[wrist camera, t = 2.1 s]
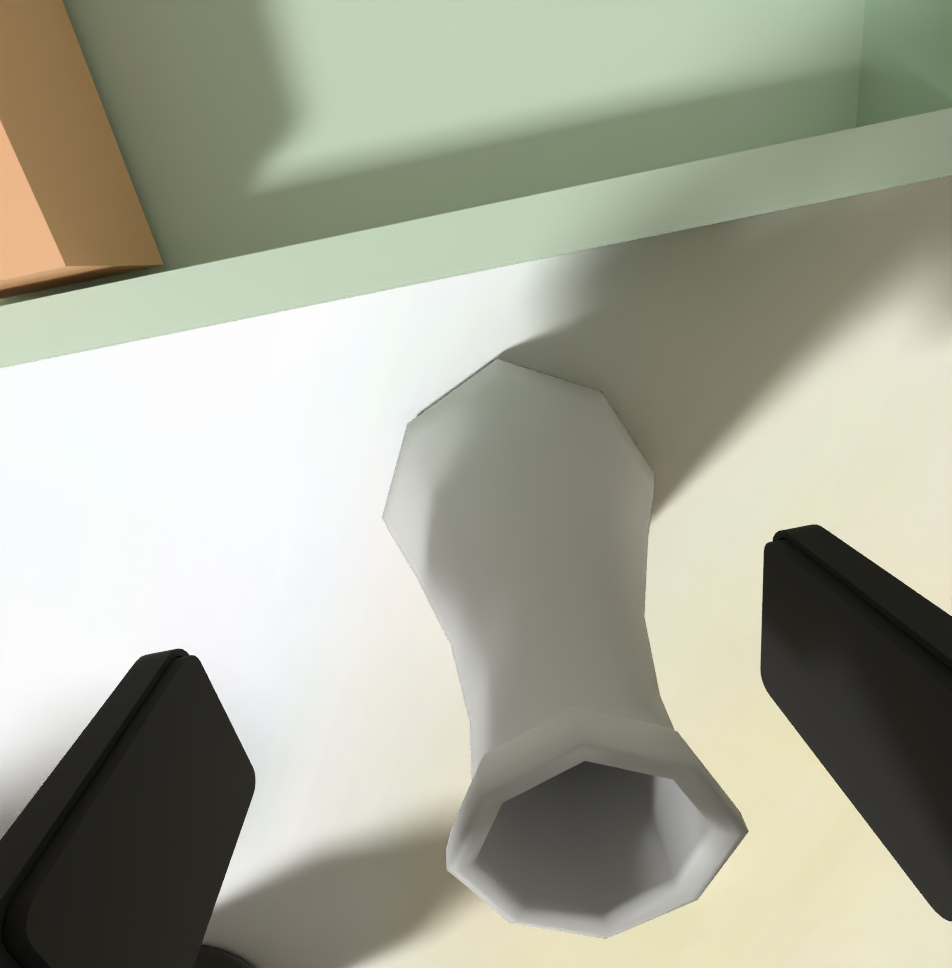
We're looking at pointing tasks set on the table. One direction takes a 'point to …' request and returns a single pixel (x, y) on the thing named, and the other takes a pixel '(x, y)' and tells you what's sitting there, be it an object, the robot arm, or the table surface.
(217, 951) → the supplement bottle
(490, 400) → the flask
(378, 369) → the table surface
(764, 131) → the pale green shallow box
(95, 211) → the block
